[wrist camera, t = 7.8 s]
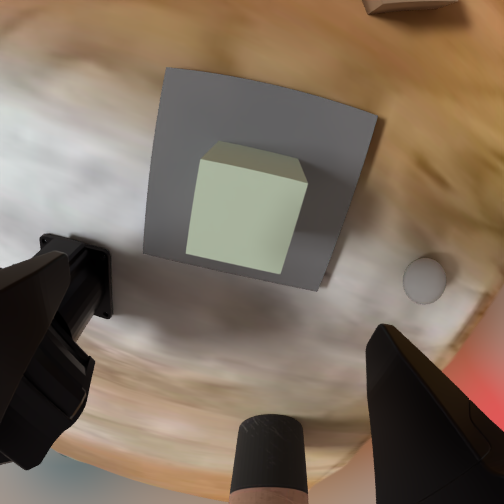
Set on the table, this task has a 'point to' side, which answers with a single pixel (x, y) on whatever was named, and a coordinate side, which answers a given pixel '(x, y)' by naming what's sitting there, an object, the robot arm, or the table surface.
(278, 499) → the travel mug
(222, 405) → the table surface
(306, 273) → the plate
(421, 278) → the grey ball
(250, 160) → the sage block
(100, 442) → the table surface
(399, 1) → the walnut block
